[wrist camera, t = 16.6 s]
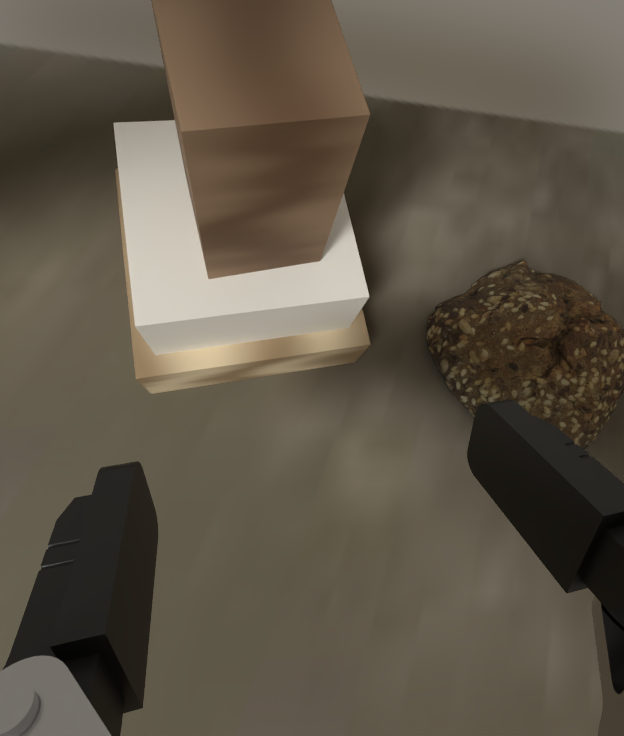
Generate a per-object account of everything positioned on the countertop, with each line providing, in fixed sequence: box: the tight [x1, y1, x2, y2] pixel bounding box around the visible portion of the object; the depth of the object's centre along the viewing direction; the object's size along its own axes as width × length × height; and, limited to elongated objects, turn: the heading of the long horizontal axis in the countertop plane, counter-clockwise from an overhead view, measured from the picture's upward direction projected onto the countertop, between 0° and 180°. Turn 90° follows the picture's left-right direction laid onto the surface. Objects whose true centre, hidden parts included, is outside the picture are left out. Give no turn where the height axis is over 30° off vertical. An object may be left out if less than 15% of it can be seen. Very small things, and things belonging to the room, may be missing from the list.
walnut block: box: [151, 0, 370, 279], centre depth 15 cm, size 5×5×8 cm
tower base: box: [115, 169, 371, 394], centre depth 25 cm, size 12×12×4 cm
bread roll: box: [427, 261, 624, 449], centre depth 26 cm, size 13×12×5 cm
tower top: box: [113, 120, 369, 355], centre depth 21 cm, size 10×10×4 cm
